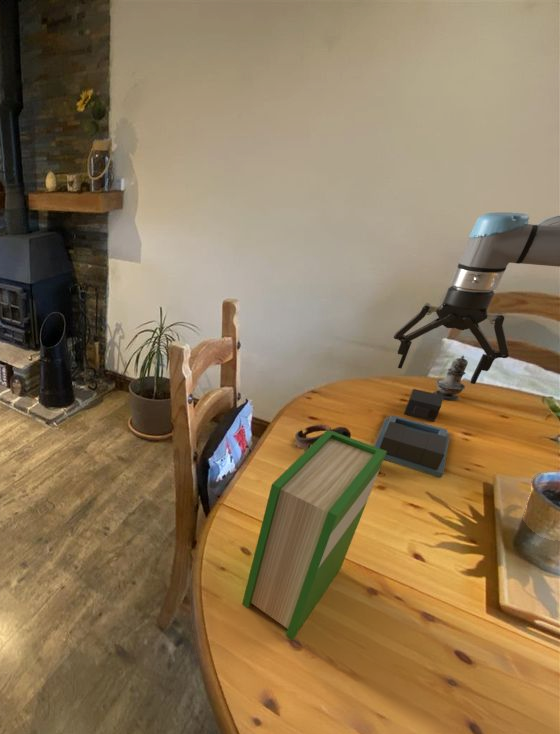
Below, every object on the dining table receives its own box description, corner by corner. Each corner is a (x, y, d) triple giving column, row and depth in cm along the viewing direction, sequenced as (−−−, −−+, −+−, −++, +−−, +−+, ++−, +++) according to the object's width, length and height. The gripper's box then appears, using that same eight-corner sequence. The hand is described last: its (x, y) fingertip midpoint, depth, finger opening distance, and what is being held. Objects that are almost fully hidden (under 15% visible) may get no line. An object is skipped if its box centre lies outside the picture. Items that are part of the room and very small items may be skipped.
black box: (436, 410, 107) (443, 395, 105) (433, 423, 102) (440, 408, 100) (407, 403, 111) (413, 388, 109) (402, 415, 106) (408, 400, 104)
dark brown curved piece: (329, 477, 88) (315, 443, 87) (294, 468, 97) (281, 438, 96) (370, 450, 90) (356, 417, 90) (332, 444, 100) (319, 414, 99)
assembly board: (448, 438, 97) (456, 419, 94) (441, 478, 85) (450, 457, 83) (384, 421, 104) (391, 403, 102) (370, 455, 93) (377, 436, 90)
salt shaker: (426, 393, 115) (442, 353, 109) (441, 389, 116) (458, 349, 110) (449, 403, 110) (468, 361, 104) (465, 398, 111) (484, 357, 105)
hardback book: (292, 640, 59) (337, 515, 48) (242, 604, 64) (271, 484, 53) (340, 568, 68) (387, 451, 57) (293, 542, 73) (327, 429, 62)
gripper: (398, 284, 97) (370, 365, 107) (557, 301, 82) (507, 395, 91) (403, 277, 102) (376, 356, 112) (554, 292, 86) (506, 382, 96)
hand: (435, 373), depth 102 cm, fingers open, 13 cm apart
